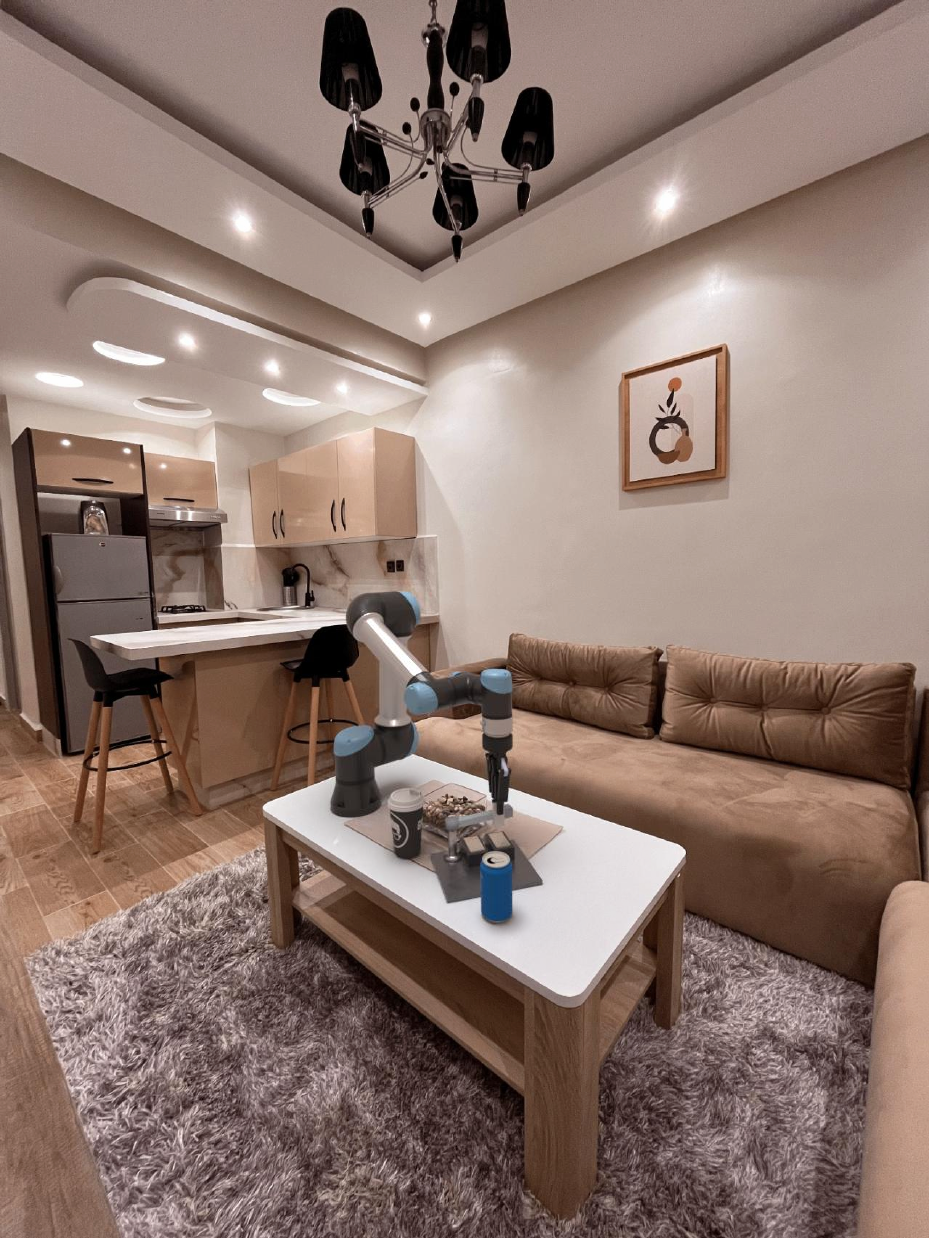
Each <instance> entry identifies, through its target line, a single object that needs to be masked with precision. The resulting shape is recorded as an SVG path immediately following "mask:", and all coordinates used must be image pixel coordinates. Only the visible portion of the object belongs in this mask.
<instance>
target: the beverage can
mask: <svg viewBox="0 0 929 1238" xmlns="http://www.w3.org/2000/svg"><path fill="white" fill-rule="evenodd" d="M480 878H481V897H480V913H481V915H482V916H483V917H484V918H485V919H486V920H487V921H489V922H491V923H497V924H500V923H503V922H506V921H507V920H509V919H510V918H511V917H512V915H513V912H514V911H513V909H514V908H513V890H512V863H511V861H510V858H509V856H508V855H507V854H505V853H503V852H499V851H493V852H489V853H486V854H485V855H484V856H483V858H482V861H481V864H480Z"/></svg>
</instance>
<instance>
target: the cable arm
mask: <svg viewBox="0 0 929 1238" xmlns="http://www.w3.org/2000/svg"><path fill="white" fill-rule="evenodd" d="M504 815H505V819H508V818H509V819H510V818H513V817H514V808H513V806H512V805H510V804H509V803H507V804H505V803H504ZM488 821H493V813H492V809H490V810H485V811H480V812H476V813H472V814H468V815H464V816H459V817H457V816H455V815H451V816H448V817H446V818H445V829H446V830H447V831H448V830H450V831H454V830H456V831H457V830H458V829H459V828H463V827H467V826H471V825H476V824H480V823H484V822H488Z"/></svg>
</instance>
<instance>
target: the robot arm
mask: <svg viewBox="0 0 929 1238" xmlns="http://www.w3.org/2000/svg"><path fill="white" fill-rule="evenodd" d="M421 614H422V613H421V608H420V605H419V602H418V601H417V599H416V597H415V596H414V595H413V594H412V593H410V592H407V591H402V590H401V591H398V590H394V591H392V590H390V591H381V592H380V591H379V592H378V591H377V592H365V593H361V594H359V595H358V596H356V597H354V598H353V599H352V600H351V602H350V603H349V605H348V607H347V609H346V613H345V624H346V627H347V629H348V631H349V632H350V634H351V635H352V637H353V638H354V639H355V640H356V641H358V642H361V643H363V644H364V645H365V647H367V648H368V649H369V651H370V652H371V653H372V654H373V655H374V656H375V658H376V659H377V660H378V661H379V683H378V684H379V686H378V687H379V693H378V694H379V696H378V697H379V698H378V699H379V701H378V702H379V707H378V709H379V713H378V715H376V717H375V718H374V724H373V725H374V727H372V726H370V725H366V724H359V725H358V726H357V725H354V726H349V727H347V728H344V729H342V730H341V731H339V732H338V733H337V734H336V736H335V737H334V742H333V743H334V744H333V754H334V755H333V757H334V771H335V773H334V774H335V776H334V777H335V784H334V788H333V791H332V795H331V799H330V811H331V812H332V813H333V814H334V815H337V816H340V817H346V818H347V817H349V818H353V817H354V818H355V817H363V816H366V815H370V814H371V813H373V812H375V811H376V810H378V809H379V808H380V807H381V806H382V794H381V791H380V789H379V786H378V783H377V781H376V777H375V775H376V774H375V773H376V771H375V768H377V767H381V766H384V765H387V764H390V763H393V762H397V761H403V760H404V759H405V758H409V757H411V756H412V755H413V754H414V753H415V752H416V751H417V748H418V746H419V737H420V734H419V730H417V728H418V727H417V725H416V724H415V723H414V722H413V721H412V717H411V716H410V715H409V714H408V713H407V711H408V712H409V713H410V714H412V715H415V716H419V715H426V714H429V715H430V714H431V713H434V712H439V711H441V710H445V709H449V708H454V707H459V706H462V705H466V704H472V705H474V706H475V705H477V706H479V707H481V720H480V721H479V725H481V730H482V734H481V741H482V742H481V747H482V749H483V750H484V751H486V752H485V755H484V756H485V760H486V771H487V781H488V782H487V783H488V792H489V793H490V794H491V795H490V797H491V803H492V804H491V806H492V809H491V810H492V813H493V820H492V826H493V827H494V828H498V827H503V826H505V825H506V823H505V815H504V805H505V803H508V802H509V794H510V793H509V791H510V779H511V774H512V769H511V767H508V762H509V759H508V756H507V753H508V752H509V751H511V750H512V749H513V747H514V744H513V743H514V742H513V741H514V735H513V733H512V732H513V731H514V722H513V719H514V718H513V717H514V715H513V691H514V690H513V688H514V686H513V680H512V679H513V678H512V673H511V672H510V671H509V670H507V669H502V668H500V669H499V668H489V669H484V670H483V671H481V674H476V673H471V672H469V671H458V670H456V671H454V672H452V673H451V674H450V675H449V676H447V677H443V678H435V677H434V675H433V674H432V673H430V672H429V671H428V669H427V668H426V667H425V666H424V665H423V664H422V663H421V662H420V661H419V660H418V659H417V657H415V656H414V655H413V654H412V653H411V652H410V650H409V648H408V642H409V639H411V638H412V636H413V629H414V628H416V627H417V626H419V623H420V621H421V617H422V616H421Z"/></svg>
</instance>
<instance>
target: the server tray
mask: <svg viewBox="0 0 929 1238" xmlns="http://www.w3.org/2000/svg"><path fill="white" fill-rule="evenodd" d="M447 835H448V837H447V838H448V839H447V840H448V843H447V844H448V850H442V851H436V852H430V854H429V855H430V859H431V863H432V865H433V869H434V870H435V873H436V875H437V879H438V881H439V883H440V884H439V885H440V887H441V889H442V893H443V895H444V898H445V900H446V904H449V903H455V902H460V901H461V902H462V901H464V900H465V901H466V900H470V899H475V898H481V878H480V864H481V861H482V858H483V856H484V855H485V854H486V853H489V852H493V851H499V852H503V853H505V854H507V855H508V856H509V858H510V861H511V863H512V891H516V890H521V889H525V888H531V887H536V886H542V885H543V879H542V877H541V876H540V874H539V873H538V872H537V870H536V869H535V868H534V867H535V866H533V865H532V863H531V862H530V861H529V858H527V856H526V855H525V853H524V852H523V851H522V849H521V848H520V846H519V844H518V843H517V842H516V840H515V839H509V837H508V836H507V834H506V833H505V831H503V830H501V831H495V832H490V833H484V841H483V839H482V838H481V836H480V835H479V834H477V835H470V836H466V837H459V848H458V843H457V839H458V838H457V836H458V835H457V830H454V831H450V830H447Z"/></svg>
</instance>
